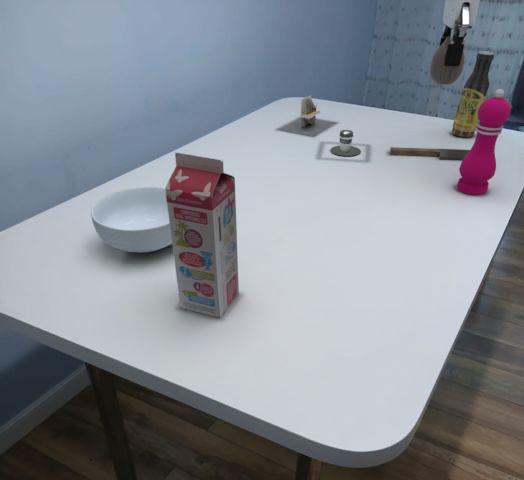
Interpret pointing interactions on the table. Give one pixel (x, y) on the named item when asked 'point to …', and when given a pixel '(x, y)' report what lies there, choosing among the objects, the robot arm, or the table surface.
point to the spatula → (431, 152)
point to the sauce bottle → (473, 96)
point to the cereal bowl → (133, 219)
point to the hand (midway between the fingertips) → (448, 61)
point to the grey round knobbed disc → (345, 145)
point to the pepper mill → (484, 146)
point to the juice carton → (203, 234)
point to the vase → (442, 72)
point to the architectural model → (307, 120)
